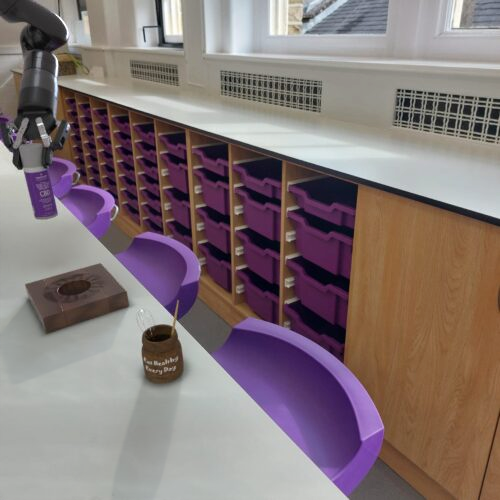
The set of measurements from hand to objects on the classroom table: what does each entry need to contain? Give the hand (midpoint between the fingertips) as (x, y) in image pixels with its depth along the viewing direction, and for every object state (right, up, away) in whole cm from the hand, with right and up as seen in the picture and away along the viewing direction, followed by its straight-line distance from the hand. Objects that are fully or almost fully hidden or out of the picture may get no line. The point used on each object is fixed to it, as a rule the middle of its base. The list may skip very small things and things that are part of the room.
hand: (31, 167), depth 97 cm
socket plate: (+11, -27, -4) cm, 29 cm away
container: (0, -9, +7) cm, 11 cm away
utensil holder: (+31, -35, -23) cm, 52 cm away
